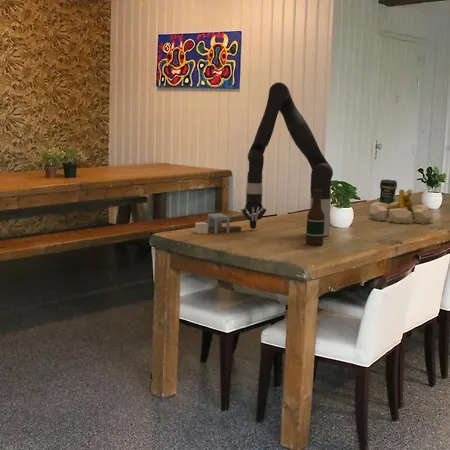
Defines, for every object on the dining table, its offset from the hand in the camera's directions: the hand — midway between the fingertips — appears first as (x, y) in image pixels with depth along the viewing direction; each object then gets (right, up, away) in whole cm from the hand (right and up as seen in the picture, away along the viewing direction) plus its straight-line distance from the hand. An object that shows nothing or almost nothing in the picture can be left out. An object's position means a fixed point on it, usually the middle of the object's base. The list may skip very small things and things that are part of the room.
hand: (252, 228), depth 324 cm
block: (-24, -2, -10) cm, 26 cm away
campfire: (+83, +4, +51) cm, 97 cm away
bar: (-14, -2, -7) cm, 16 cm away
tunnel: (-17, -1, -7) cm, 18 cm away
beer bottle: (+25, -7, -28) cm, 39 cm away
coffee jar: (+82, +10, +79) cm, 115 cm away
